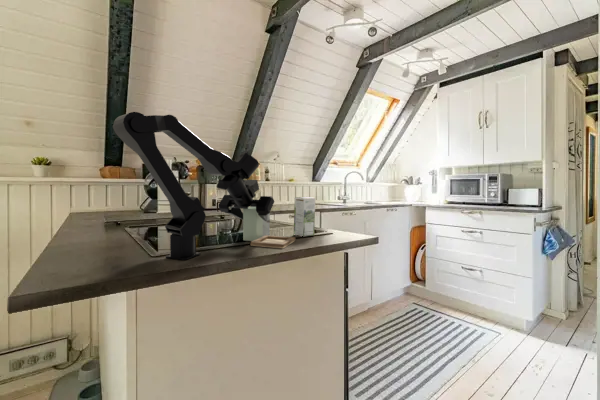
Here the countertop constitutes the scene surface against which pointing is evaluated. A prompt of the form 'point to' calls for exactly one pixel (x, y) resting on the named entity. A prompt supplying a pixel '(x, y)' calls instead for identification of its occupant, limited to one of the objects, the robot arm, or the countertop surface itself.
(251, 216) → the pale green tall block
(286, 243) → the groove board
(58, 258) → the countertop surface
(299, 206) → the syrup box
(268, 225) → the skincare box
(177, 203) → the robot arm
